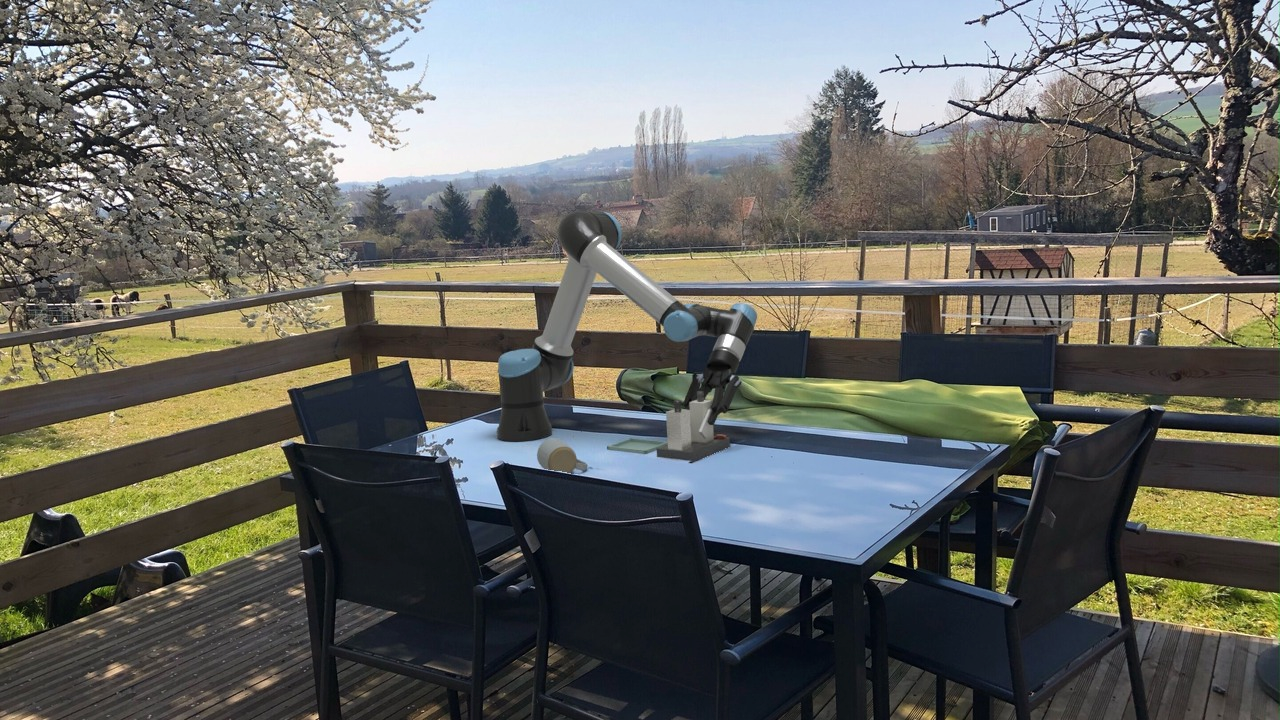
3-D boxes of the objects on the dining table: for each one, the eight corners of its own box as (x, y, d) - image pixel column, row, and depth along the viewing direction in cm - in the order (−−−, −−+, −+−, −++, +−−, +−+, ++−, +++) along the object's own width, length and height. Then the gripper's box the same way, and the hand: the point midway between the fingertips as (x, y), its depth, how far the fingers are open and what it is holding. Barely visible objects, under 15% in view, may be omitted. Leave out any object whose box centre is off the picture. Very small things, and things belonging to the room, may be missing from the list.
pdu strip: (657, 458, 212) (653, 401, 210) (695, 443, 225) (693, 389, 224) (692, 463, 206) (689, 404, 204) (730, 447, 219) (727, 391, 218)
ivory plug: (691, 446, 218) (688, 392, 217) (700, 442, 221) (697, 389, 220) (705, 447, 216) (702, 393, 214) (714, 444, 219) (711, 390, 217)
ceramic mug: (549, 480, 198) (547, 446, 197) (537, 472, 206) (535, 439, 205) (593, 473, 203) (591, 440, 202) (580, 466, 210) (578, 434, 209)
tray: (607, 451, 222) (606, 446, 222) (631, 443, 230) (630, 437, 230) (645, 456, 215) (645, 450, 215) (669, 447, 223) (669, 442, 223)
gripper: (761, 367, 223) (730, 445, 212) (703, 364, 234) (670, 439, 223) (750, 348, 219) (718, 428, 208) (691, 347, 229) (657, 422, 218)
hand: (693, 433), depth 215 cm, fingers open, 4 cm apart
